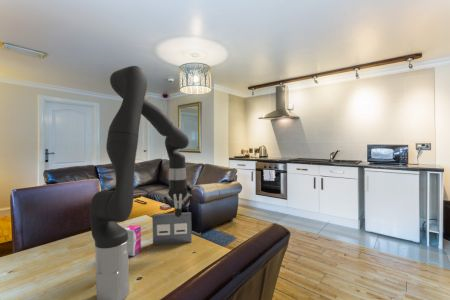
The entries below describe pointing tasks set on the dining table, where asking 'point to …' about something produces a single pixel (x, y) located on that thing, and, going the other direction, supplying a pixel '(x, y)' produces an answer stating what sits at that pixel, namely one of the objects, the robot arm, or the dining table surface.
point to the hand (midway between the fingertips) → (178, 216)
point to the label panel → (171, 228)
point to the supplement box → (134, 240)
